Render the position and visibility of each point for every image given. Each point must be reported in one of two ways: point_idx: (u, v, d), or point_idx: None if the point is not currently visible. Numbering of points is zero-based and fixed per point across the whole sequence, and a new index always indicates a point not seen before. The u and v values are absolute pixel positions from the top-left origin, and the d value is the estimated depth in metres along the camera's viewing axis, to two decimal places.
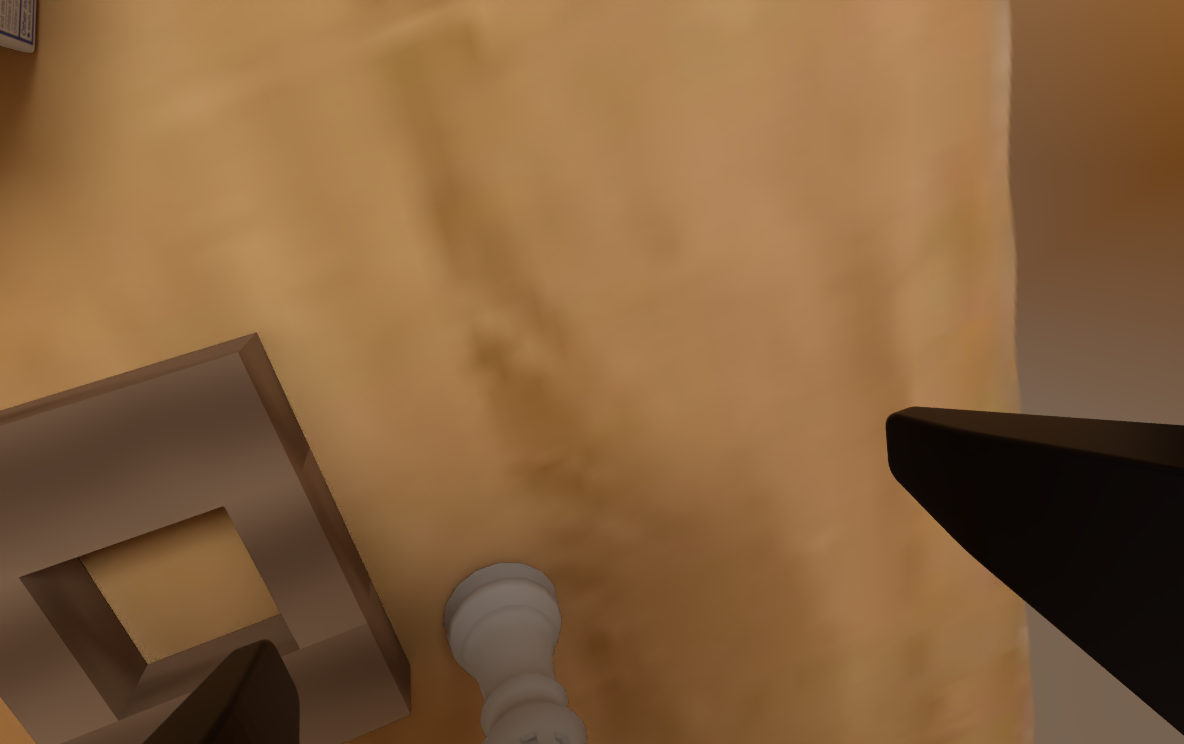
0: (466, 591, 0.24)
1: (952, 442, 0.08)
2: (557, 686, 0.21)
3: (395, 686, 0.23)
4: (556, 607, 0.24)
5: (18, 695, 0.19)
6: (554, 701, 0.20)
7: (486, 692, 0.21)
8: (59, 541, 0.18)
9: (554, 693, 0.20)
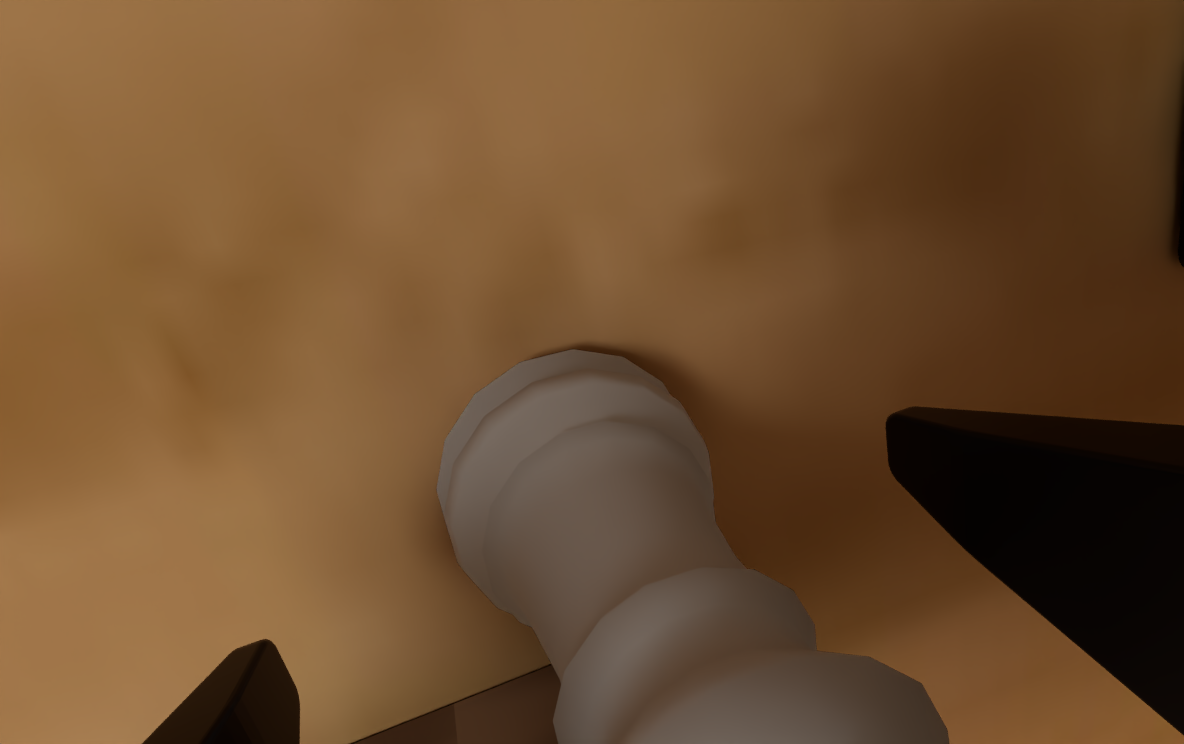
0: None
1: (952, 442, 0.08)
2: (625, 620, 0.06)
3: None
4: (542, 396, 0.09)
5: None
6: (641, 693, 0.05)
7: None
8: None
9: (633, 654, 0.06)
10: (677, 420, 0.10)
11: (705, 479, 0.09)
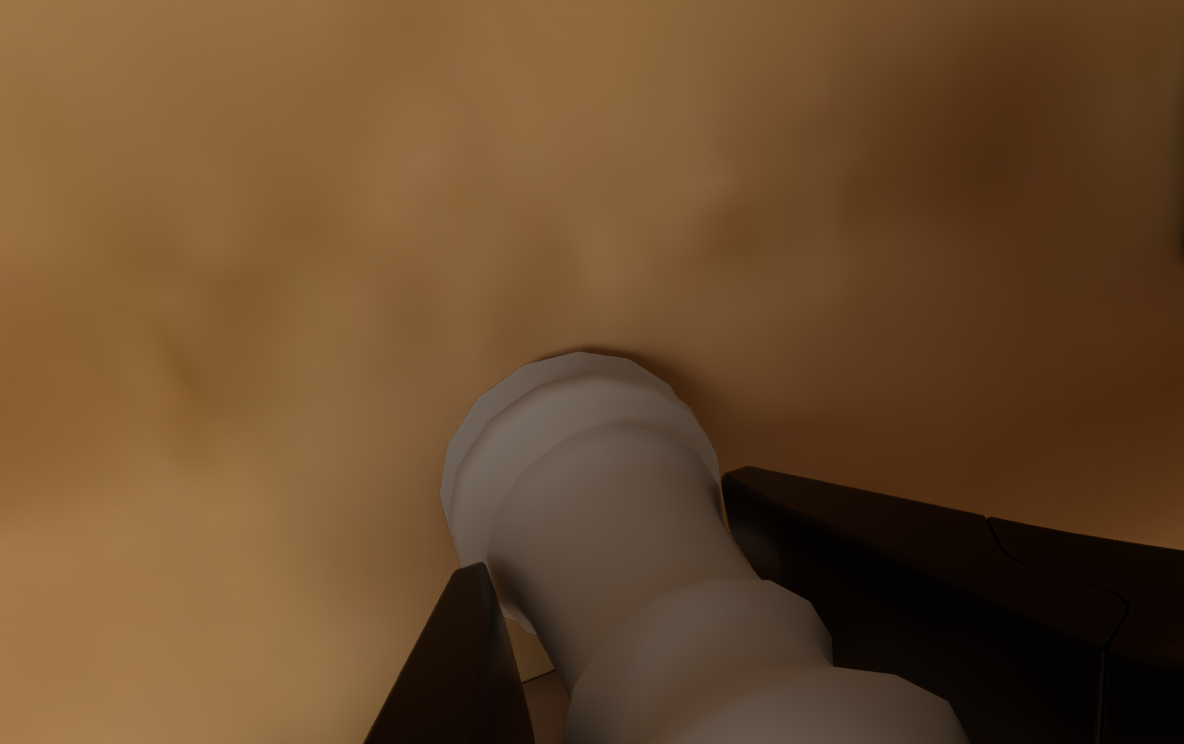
0: None
1: (765, 512, 0.08)
2: (638, 634, 0.06)
3: None
4: (548, 400, 0.09)
5: None
6: (655, 711, 0.05)
7: None
8: None
9: (646, 669, 0.05)
10: (685, 424, 0.10)
11: (714, 484, 0.09)
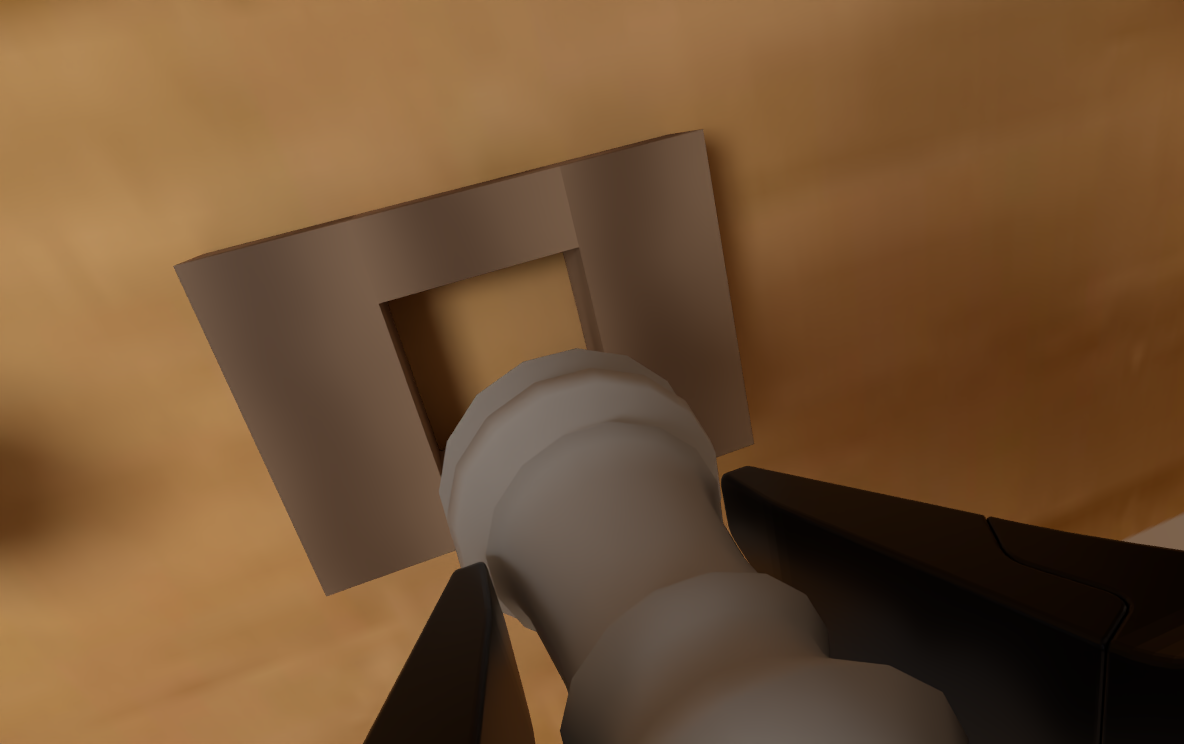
0: None
1: (765, 512, 0.08)
2: (634, 627, 0.06)
3: (657, 143, 0.18)
4: (545, 396, 0.09)
5: None
6: (651, 703, 0.05)
7: None
8: (407, 450, 0.18)
9: (642, 662, 0.05)
10: (683, 420, 0.10)
11: (712, 480, 0.09)
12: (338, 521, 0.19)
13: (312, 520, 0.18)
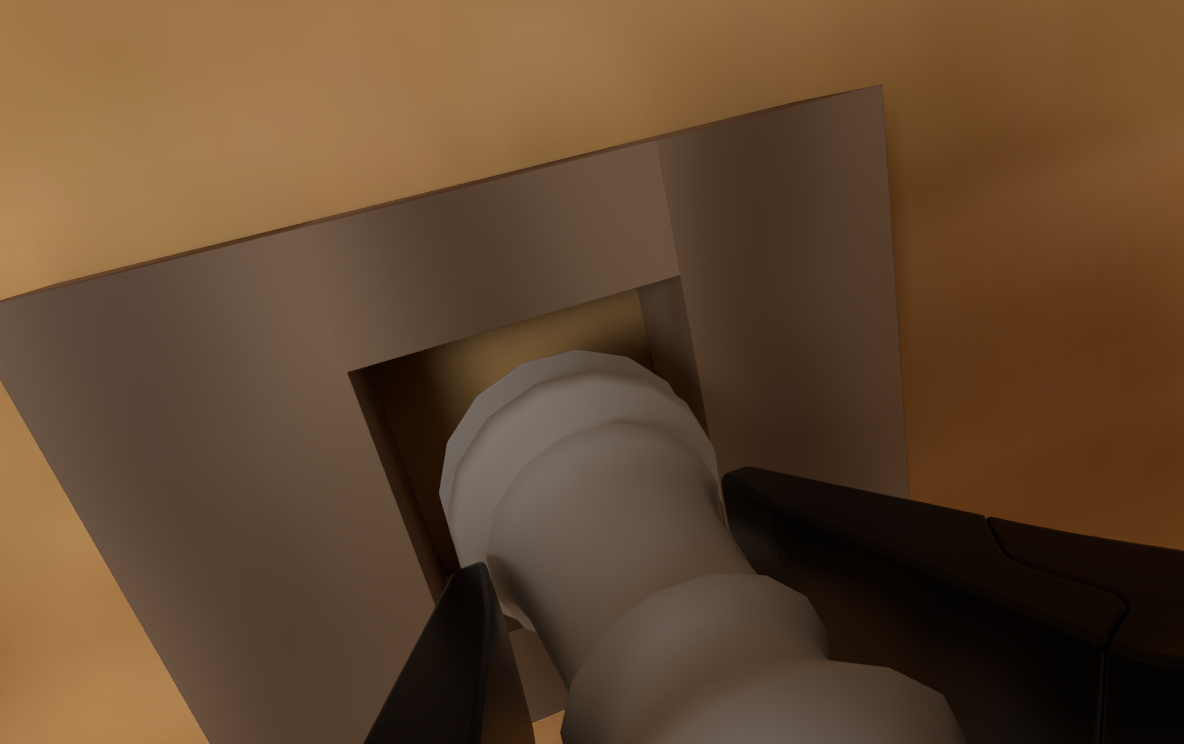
0: None
1: (765, 513, 0.08)
2: (634, 629, 0.06)
3: (811, 105, 0.11)
4: (546, 398, 0.09)
5: None
6: (652, 706, 0.05)
7: None
8: (395, 606, 0.11)
9: (642, 664, 0.05)
10: (684, 421, 0.10)
11: (712, 481, 0.09)
12: (281, 721, 0.11)
13: (236, 724, 0.11)
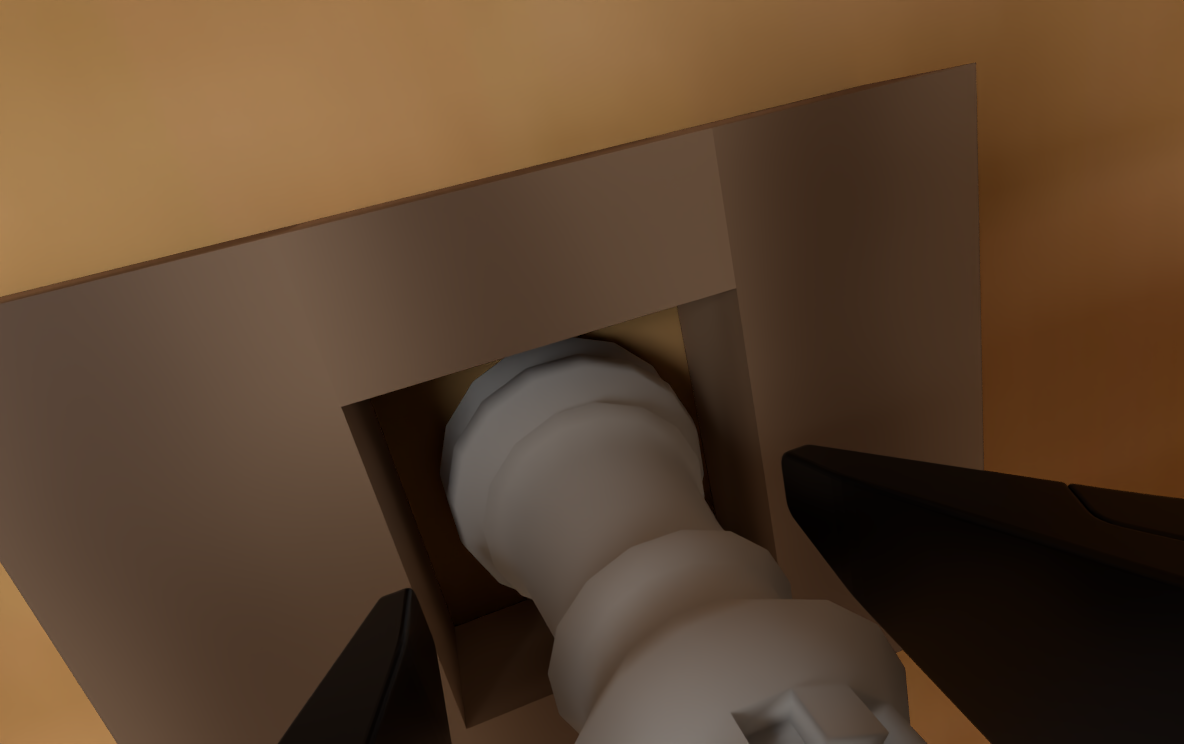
0: None
1: (833, 487, 0.08)
2: (611, 578, 0.06)
3: (894, 86, 0.09)
4: (536, 381, 0.10)
5: None
6: (625, 642, 0.06)
7: None
8: None
9: (618, 608, 0.06)
10: (665, 401, 0.10)
11: (693, 455, 0.10)
12: None
13: None
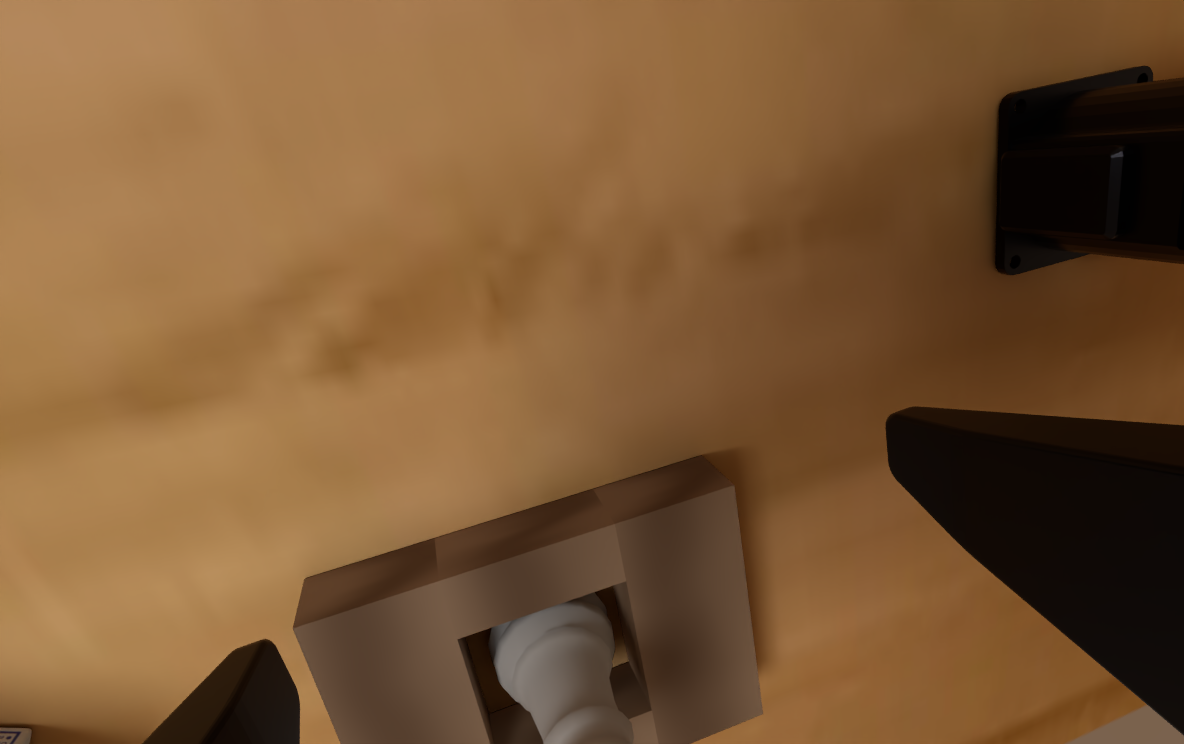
0: None
1: (952, 442, 0.08)
2: (563, 725, 0.18)
3: (696, 499, 0.21)
4: (537, 614, 0.22)
5: None
6: None
7: None
8: None
9: (565, 736, 0.18)
10: (596, 620, 0.22)
11: (607, 648, 0.22)
12: None
13: None
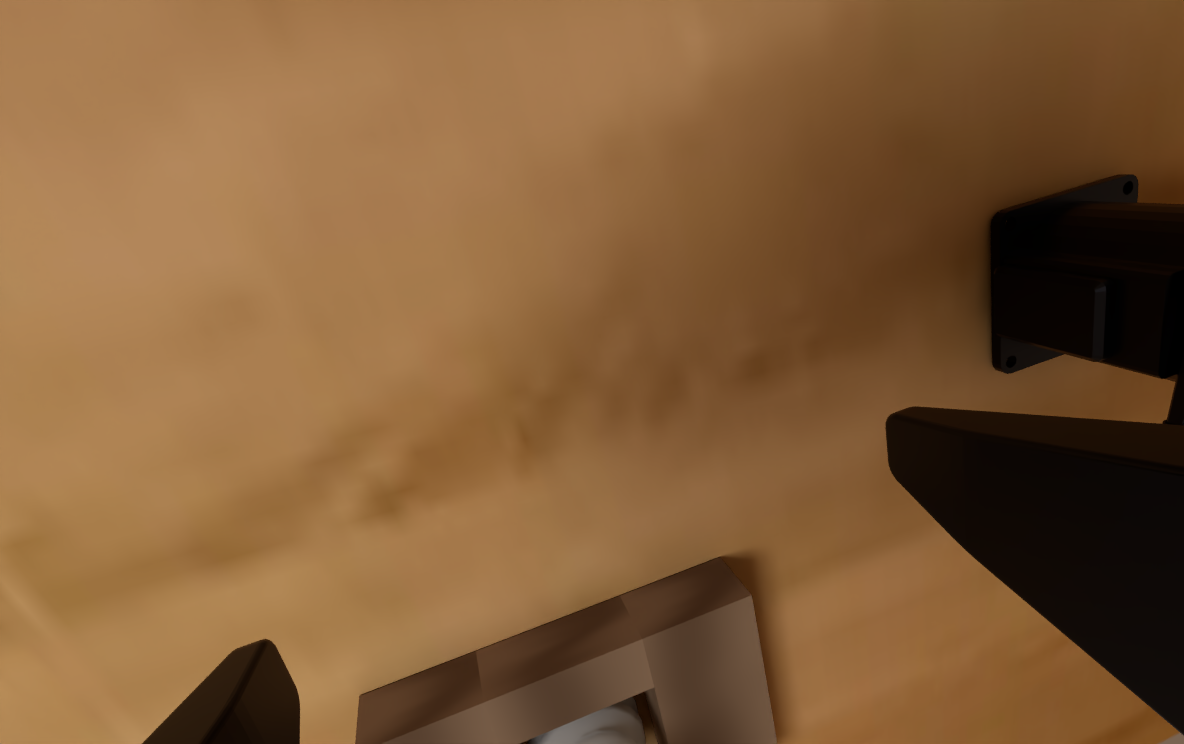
0: None
1: (952, 442, 0.08)
2: None
3: (716, 610, 0.23)
4: None
5: None
6: None
7: None
8: None
9: None
10: (627, 720, 0.24)
11: None
12: None
13: None
